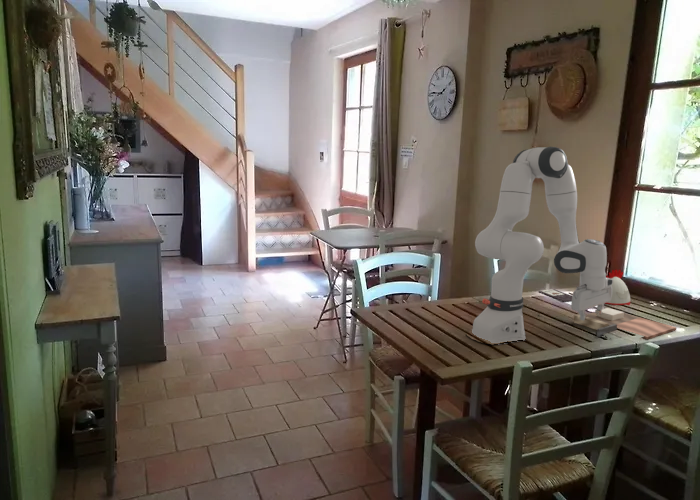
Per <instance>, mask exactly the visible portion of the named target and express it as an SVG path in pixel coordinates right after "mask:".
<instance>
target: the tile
mask: <svg viewBox="0 0 700 500" xmlns="http://www.w3.org/2000/svg"><path fill="white" fill-rule="evenodd" d="M624 313H625V312H624V311H621V310H618V309H613V308H611V307H605V308H603V309H602V314H600V315H597V316H598V317H602V318H605V319H608V320H612V321H613V320H617V319H620V318H624Z"/></svg>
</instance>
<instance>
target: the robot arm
mask: <svg viewBox="0 0 700 500" xmlns="http://www.w3.org/2000/svg"><path fill="white" fill-rule="evenodd" d="M567 158H568V157H567V155H566V153H565V151H564V150H563V149H562V148H560V147H557V146H546V147H545V146H544V147H541V146H540V147H533V148H529V149H523V150H522V151H520V152H518V153H517V154H516V155H515V156H514V158H513V160H512V163H510V164H508V165H507V166H506V168H504V169H505V170H504V172H503V176H502V178H501V184H500V188H499V197H498V202H497V207H496V212H495V215H494V216H493V218H492V220H491V221H490V223H489V224H488V226H486V228H484V229H483V230H481V231H480V232H479V233H478V234H477V235H476V238H475V242H474V246H475V251H476V252H477V254H479V255H480V256H483V257H486V258H488V259H492V260H499V261H505V265H504V268H503V269H500V270H498V271H495V273H494V274H493V275H492V276H491V293H490V294H491V295H490V297H489V299H488V298H483V299H482V301H481V302H482V304H483V305H484V304H485V305H487V306H486V308H484V310H482V311H481V313H479V314H478V315H477V316H476V317H475V318H474V320H473V323H472V329H471V330H472V333H473V334H474V335H476V336H477V337H479V338H482V339H485V340H488V341H490V342H491V343H500V342H507V341H517V340H523V341H526V340H527V338H526V331H525V326H524V315H523V308H524V297H523V287H524V281H525V279H524V278H525V277H526V273H527V271H528V270H529V268H530V267H531V266H533V265H534V264H535V263H538V261H540V260H541V259H542V256H543V254H544V252H545V251H544V250H545V246H544V241H543V240H542V239H541V237H540V236H537V235H534V234H532V233H529V232H523V231H521V232H520V231H513V230H514V227H515V226H516V224H517V223H519V222H521V221H523V220H525V219H526V218H527V217H528V215H529V213H530V208H531V206H530V205H531V201H532V200H531V199H532V192H533V183H534V181H535V179H541V180H542V181H543V183H544V193H545V201H546V206H547V208H548V211H549V213H550V214H551V215H552V216H554V217H555V218H556V220H557V223H558V227H559V228H558V229H559V235H560V236H559V237H560V246H559V248H558V251H557V252H556V254H555V256H554V258H553V264H554V267H555V268H556V270H557V271H558V272H560V273H562V274H576V273H577V274H578V273H580V274H579V285H578V286H576V289H575V290H574V291H573V292H572V295H571V296H572V301H571V304H570V308H571V309H572V310H573V311H575V312H577V313H578V314H579V315H580V320H586V317H587V316H586V310H588V309H591V308H594V307H595V308H596V309H594V312H595V314H596V315H600V314H602V309H604V307H605V303H606V302H609V301H610V300H611V298H612V284H613V279H610V278H606V275H607V273H606V267H607V265H608V264H607V263H608V262H607V260H608V256H607V255H608V252H607V247H606V245H605V244H604V242H602V241H600V240H596V239H591V238H587V239H584V240H583V241H581V242H580V240H579V237H578V236H579V235H578V228H577V227H578V226H577V221H576V220H577V207H578V190H577V188H578V187H577V183H576V179H575V178H576V177H575V174H574V171H573V168H572V166H571V165H570V164H569V163H568V159H567ZM525 339H526V340H525ZM517 342H518V341H517Z"/></svg>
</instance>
